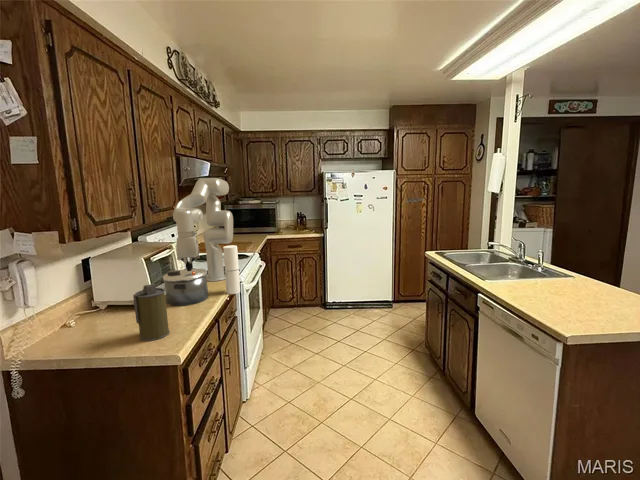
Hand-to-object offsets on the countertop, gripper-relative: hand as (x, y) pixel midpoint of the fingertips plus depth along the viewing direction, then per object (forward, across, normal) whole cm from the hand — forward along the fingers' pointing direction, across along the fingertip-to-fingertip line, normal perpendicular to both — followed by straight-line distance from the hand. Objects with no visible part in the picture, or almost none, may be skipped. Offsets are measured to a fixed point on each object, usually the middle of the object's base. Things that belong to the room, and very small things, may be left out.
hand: (189, 270), depth 169 cm
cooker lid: (+3, +2, 0) cm, 3 cm away
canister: (+14, +4, +43) cm, 45 cm away
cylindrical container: (+15, -20, -6) cm, 26 cm away
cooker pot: (+15, +2, +1) cm, 15 cm away
